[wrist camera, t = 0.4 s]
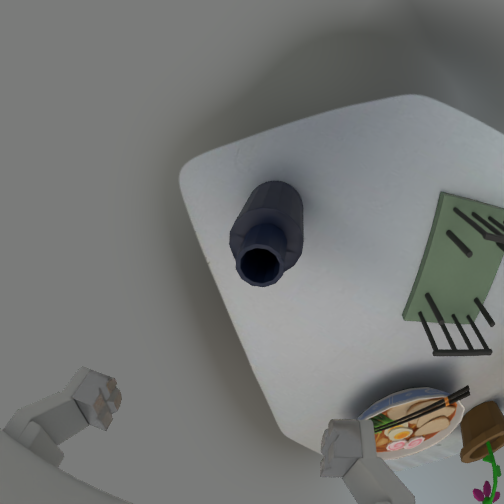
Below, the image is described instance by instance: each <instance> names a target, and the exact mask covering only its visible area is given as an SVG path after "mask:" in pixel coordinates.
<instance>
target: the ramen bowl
mask: <svg viewBox="0 0 504 504" xmlns="http://www.w3.org/2000/svg"><path fill="white" fill-rule="evenodd" d="M468 390H470V389H469V386H468V385H467V386H466V387H464V388H462V389H460V390H458V391H457V392H455V393H453V394H449V393H447V392H444V391H441V390H437V389H434V388H430V387H421V388H410V389H406V390H402V391H399V392H395V393H392V394H390V395H388V396H387V397H385V398H383V399H381V400H379V401H377V402H375V403H374V404H372V405H371V406H370V407H369V408H368V409H367V410H365V411H364V412H363V413H362V414H361V415H360V416H359V417H358V418H357V420H372V422H373V426H374V434H375V442H376V452H377V457H381V458H382V460H391V459H398V458H401V457H405V456H409V455H412V454H416V453H418V452H421V451H423V450H425V449H427V448H429V447H431V446H433V445H435V444H437V443H438V442H440V441H441V440H442V439H444V438H445V437H447V436H448V435H449V434H451V433H452V432H453V431H454V429H455V428H456V427H457V426H458V424H459V423H460V422H461V421H462V418H463V414H464V410H465V408H464V407H463V405H462V404H461V402H460V401H459V400H461V399H463V398H465V397H467V396H469V395H470V392H469V391H468ZM466 391H467V392H466ZM464 392H465V393H464Z"/></svg>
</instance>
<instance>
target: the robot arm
mask: <svg viewBox="0 0 504 504" xmlns="http://www.w3.org/2000/svg"><path fill="white" fill-rule="evenodd" d="M116 385H117V382H116V380H115V378H113V377H110V376H107V375H104V374H101V373H98V372H96V371H94V370H91V369H88V368H86V367H81V368H80V369H78V371H77V372H76V374H75V375H74V376H73V378H72V379H71V380H70V382H69V383H68V384H67V386H66V387H65V388H64V390H63V391H62V393H60V392H58V393H55V394H53V395H51V396H48V397H46V398H44V399H42V400H40V401H37V402H35V403H32V404H30V405H28V406H25V407H23V408H21V409H18V410H17V411H16V413H15V414H14V415H13V417H12V418H11V419H10V421H9V422H8V424H7V425H6V426H5V428H4V429H3V430H1V429H0V504H133V503H130V502H128V501H126V500H123V499H120V498H118V497H115V496H113V495H111V494H109V493H107V492H104V491H102V490H100V489H98V488H96V487H93V486H91V485H89V484H87V483H85V482H83V481H81V480H79V479H77V478H75V477H74V476H72V475H70V474H68V473H66V472H64V471H63V470H61V469H59V468H58V467H59V465H60V463H61V461H62V460H63V457H64V453H63V452H62V451H61V450H60V449H59V448H58V447H57V445H59V444H60V443H62V442H64V441H65V440H67V439H69V438H70V437H72V436H73V435H75V434H77V433H78V432H80V431H81V430H83V429H84V428H86V427H87V426H89V425H92V426H94V427H97V428H99V429H102V430H105V431H107V429H108V427H109V425H110V423H111V422H112V420H113V418H112V414H113V413H114V412H116V411H118V409H119V407H120V404H121V400H122V398H121V392H120V390H119V389H118V388H116ZM321 453H322V454H323V455H324V457H323V459H322V461H321V470H320V477H343V478H342V479H343V481H344V482H345V484H346V486H347V487H348V489H349V490H350V492H351V494H352V495H353V497H354V498H355V500H356V502H357V503H358V504H415V496H414V495H413V494H412V493H411V492H410V491H409V490H408V489H407V487H406V486H405V485H404V484H403V483H402V482H401V481H400V479H399V478H398V477H397V476H396V475H395V474H394V472H393V471H392V470H391V469H390V468H389V467H388V465H387V464H386V463H385V462H384V461H383V460H382V458H381V457H377V452H376V442H375V434H374V426H373V422H372V420H353V419H331V420H330V422H329V424H328V429H326V430H325V432H324V434H323V438H322V444H321Z"/></svg>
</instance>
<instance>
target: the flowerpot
mask: <svg viewBox="0 0 504 504" xmlns="http://www.w3.org/2000/svg"><path fill="white" fill-rule="evenodd" d="M460 425H461V432H462V440H463V448H462V449H461V453H460V457H461V461H462V462H464V463H470V462H474V461H477V460H480V459H482V458H483V461H486V462H489V463H492V467H493V480H494V481H493V482H494V484H493V489H492V493H491V486H490V484H489V482H488V481H486V482H485V484H484V486H483V487H484V488H483V490H484V491H483V492H482V491H481V490H479V489H474V490H473V494H474V497H475V498H476V499H477V500H478V501H483V504H492V502H493V503H494V502H495V501H497V500H498V499H499V497H500V493H499V492H496V487H497V476H498V477H500V476H501V471H500V466H498V465H497V466H496V463H495V459H494V455H493V453H494V452H495V451H497V450H498V449H500V448H501V447H503V446H504V416H503V414H502V412H501V411H500V409H499V407H498V405H497V404H496V403H495V402H494V401H488V402H484V403H482V404H480V405H478V406H476V407H474V408H473V409H472V410H470V411H469V412H468V413H466V415H465V416H464V417H463V418H462V421H461V424H460ZM483 493H484V494H483ZM490 493H491V497H490V498H489V495H490ZM484 495H485V498H484Z"/></svg>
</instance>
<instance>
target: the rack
mask: <svg viewBox="0 0 504 504" xmlns="http://www.w3.org/2000/svg"><path fill="white" fill-rule="evenodd" d="M503 254H504V209H503V208H500V207H496V206H493V205H489V204H486V203H482V202H479V201H475V200H471V199H468V198H464V197H460V196H456V195H452V194H448V193H444V192H441V193H440V197H439V201H438V205H437V210H436V214H435V217H434V221H433V225H432V229H431V232H430V236H429V239H428V243H427V246H426V249H425V253H424V256H423V259H422V262H421V265H420V268H419V271H418V274H417V277H416V280H415V283H414V286H413V288H412V291H411V294H410V296H409V299H408V302H407V304H406V307H405V309H404V312H403V314H402V316H403V319H404V320H405V321H419V322H422V324H423V327H424V329H425V331H426V334H427V336H428V338H429V341H430V343H431V346H432V348H433V350H434V351H433V356H479V355H491V354H492V350H491V349H489V348H488V346H487V344H486V342H485V341H484V339H483V337H482V335H481V334H480V332H479V330H478V328H477V327H476V325H475V323H474V321H475V319H476V317H477V315H478V313H479V311H481V313H482V314H483V316H484V317H485V319H486V320H487V322H488V323H489V325H490V327H493V326H494V325H495V322H494V321H493V319H492V318H491V316H490V315H489V313H488V312H487V310H486V309H485V307H484V306H483V303H484V301H485V299H486V296H487V294H488V292H489V290H490V287H491V285H492V283H493V280H494V278H495V275H496V273H497V270H498V268H499V265H500V263H501V260H502V257H503ZM426 322H435V323H439V325H440V326H441V328H442V330H443V332H444V334H445V336H446V338H447V340H448V342H449V345H450V347H451V349H452V350H438V348H437V345H436V343H435V341H434V338H433V336H432V334H431V331H430V329H429V327H428V325H427V323H426ZM444 323H454V324H456V326H457V328H458V329H459V331H460V333H461V335H462V337H463V339H464V341H465V343H466V345H467V347H468V349H469V350H457V349H456V347H455V344H454V342H453V340H452V338H451V336H450V334H449V332H448V330H447V328H446V326H445V324H444ZM461 324H471V326H472V328H473V330H474V331H475V333H476V335H477V337H478V338H479V340H480V342H481V344H482V346H483V347H484V349H473V347H472V345H471V343H470V341H469V339H468V337H467V335H466V334H465V332H464V330H463V328H462V326H461Z"/></svg>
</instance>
